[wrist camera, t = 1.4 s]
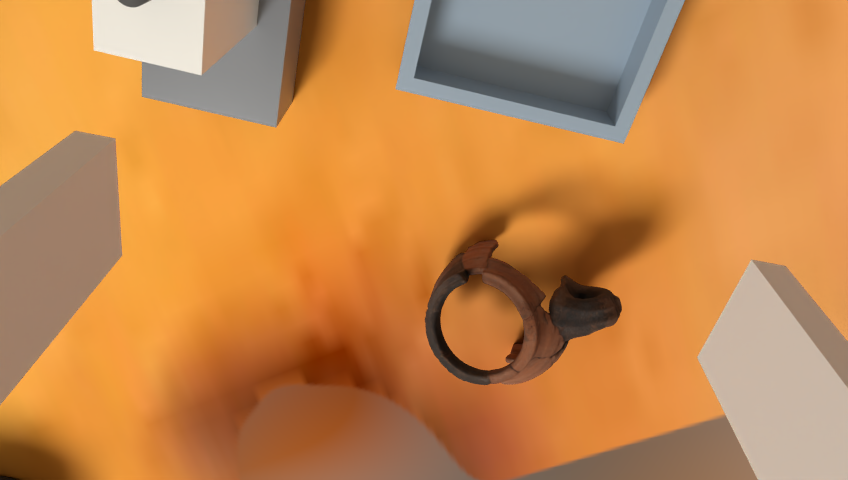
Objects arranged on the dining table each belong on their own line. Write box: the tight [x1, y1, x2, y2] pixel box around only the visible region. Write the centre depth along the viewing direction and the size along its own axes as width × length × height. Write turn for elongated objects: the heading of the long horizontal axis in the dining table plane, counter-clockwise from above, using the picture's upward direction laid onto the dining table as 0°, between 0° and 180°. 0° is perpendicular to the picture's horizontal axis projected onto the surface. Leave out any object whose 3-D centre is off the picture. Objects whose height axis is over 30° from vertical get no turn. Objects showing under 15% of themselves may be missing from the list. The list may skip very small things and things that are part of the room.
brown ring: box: [425, 240, 622, 385], centre depth 41 cm, size 12×10×8 cm
